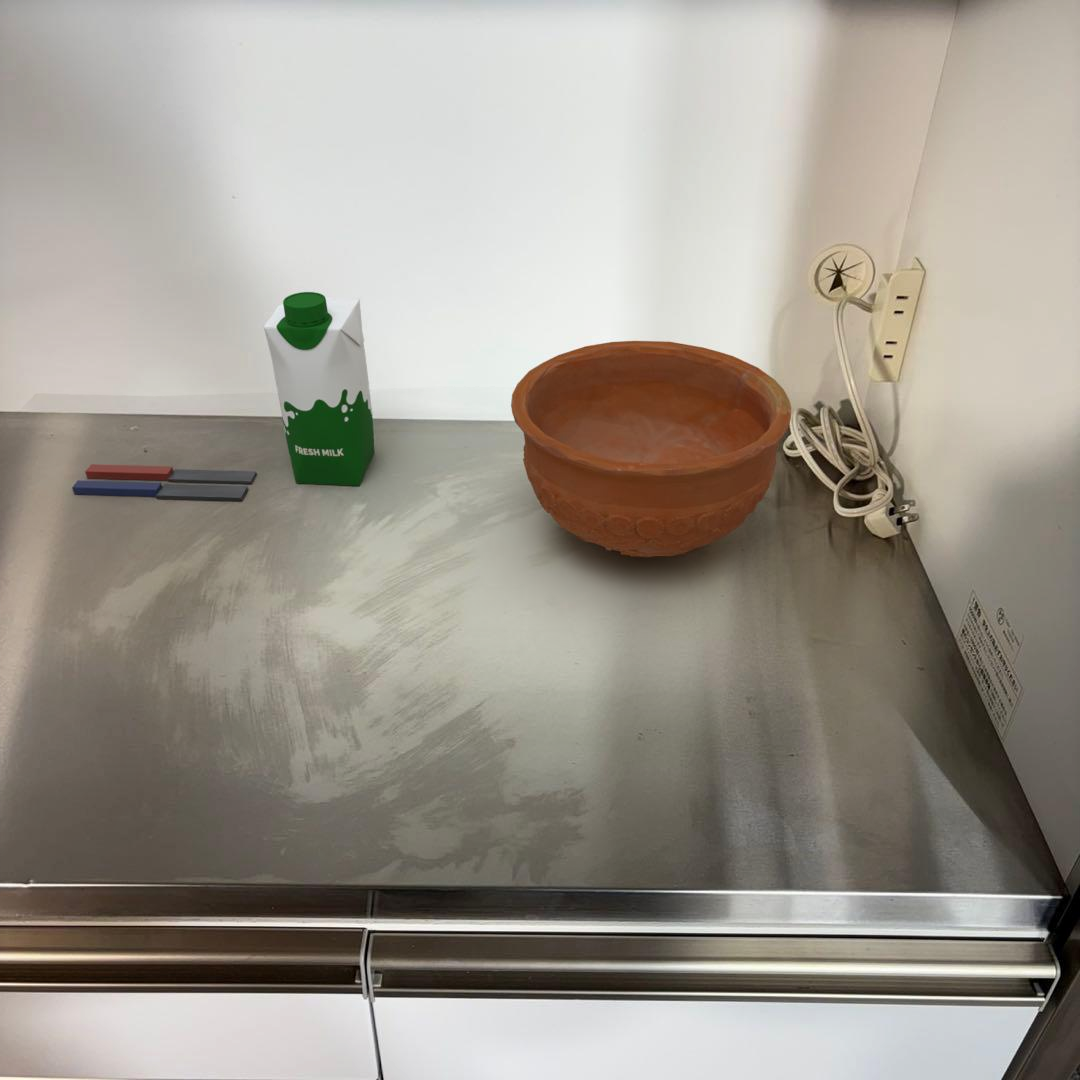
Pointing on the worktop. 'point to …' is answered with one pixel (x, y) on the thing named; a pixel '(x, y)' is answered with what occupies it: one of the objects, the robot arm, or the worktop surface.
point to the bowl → (649, 443)
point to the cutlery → (167, 489)
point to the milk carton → (322, 387)
